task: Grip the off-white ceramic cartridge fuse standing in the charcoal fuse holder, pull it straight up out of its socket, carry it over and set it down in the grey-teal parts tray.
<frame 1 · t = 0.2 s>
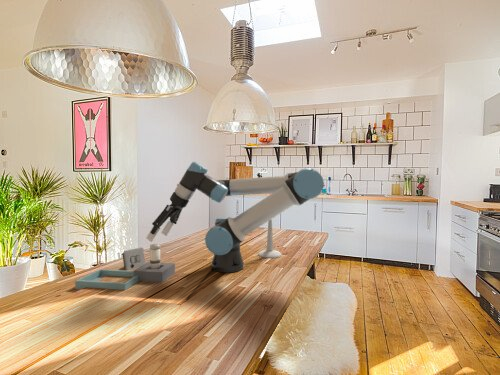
hand: (156, 236, 123), 16 cm above the table, tool tilted 30°, fingers open, 13 cm apart
fuse: (155, 276, 117), point 1 cm above the table, touching fuse holder
candlestick: (269, 255, 157), on the table
electrical switch: (133, 269, 131), on the table
fuse holder: (155, 278, 117), on the table
parts tray: (111, 283, 111), on the table
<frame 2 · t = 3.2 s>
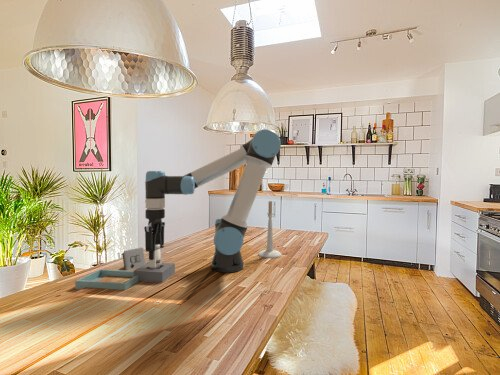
hand: (155, 265, 117), 6 cm above the table, tool pointing down, fingers closed on fuse, 4 cm apart
fuse: (155, 276, 117), point 1 cm above the table, touching fuse holder, gripper
everything else where it was.
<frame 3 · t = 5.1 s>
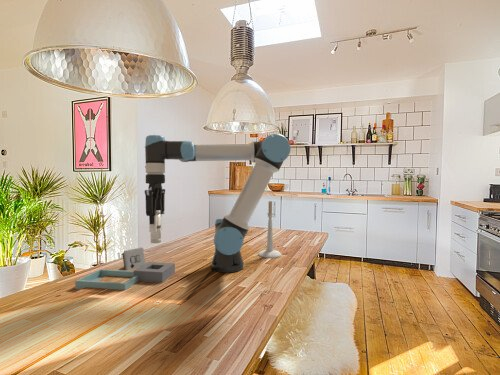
hand: (155, 230, 117), 20 cm above the table, tool pointing down, fingers closed on fuse, 4 cm apart
fuse: (155, 242, 117), point 15 cm above the table, touching gripper
everything else where it was.
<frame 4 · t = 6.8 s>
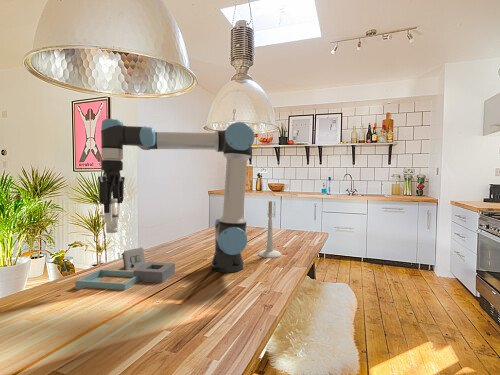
hand: (111, 220, 111), 25 cm above the table, tool pointing down, fingers closed on fuse, 4 cm apart
fuse: (111, 232, 111), point 20 cm above the table, touching gripper
everything else where it was.
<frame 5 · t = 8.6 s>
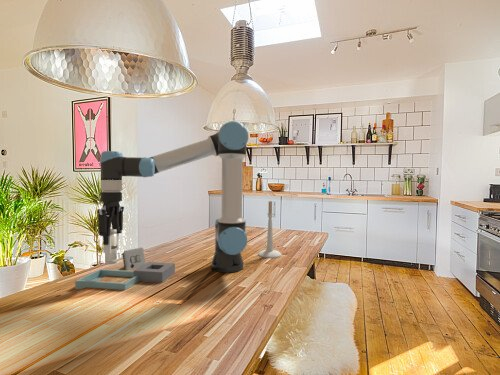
hand: (111, 251, 111), 13 cm above the table, tool pointing down, fingers closed on fuse, 4 cm apart
fuse: (111, 262, 111), point 8 cm above the table, touching gripper
everything else where it was.
when the fingers open (7 cm above the table, at t = 10.3 s): fuse drops 1 cm, resting on parts tray.
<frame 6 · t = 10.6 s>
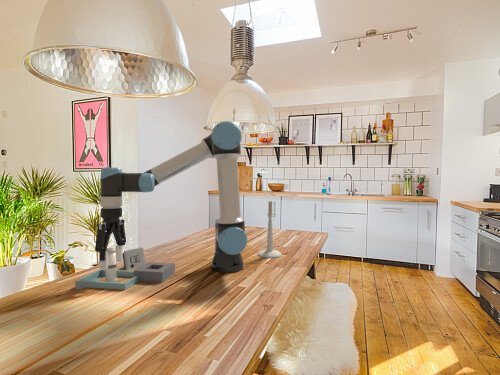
hand: (111, 265, 111), 7 cm above the table, tool pointing down, fingers open, 9 cm apart
fuse: (111, 282, 111), point 1 cm above the table, touching parts tray
everything else where it was.
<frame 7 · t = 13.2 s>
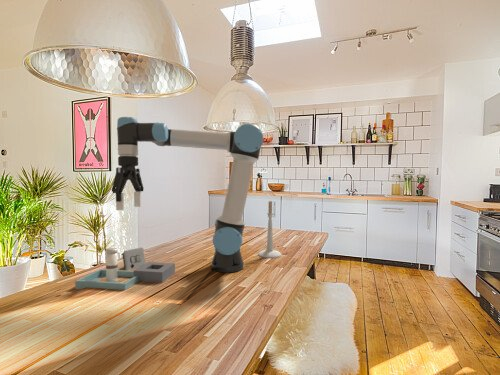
hand: (129, 208, 117), 29 cm above the table, tool pointing down, fingers open, 13 cm apart
nothing on the table moved.
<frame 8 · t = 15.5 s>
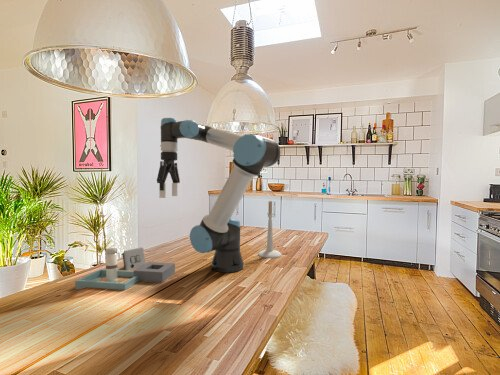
hand: (169, 197, 135), 33 cm above the table, tool pointing down, fingers open, 13 cm apart
nothing on the table moved.
at the end: fuse inside the target area on the parts tray (0.0 cm from its centre), point 0.6 cm above the parts tray's base; the gripper is holding nothing; fuse touching parts tray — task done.
